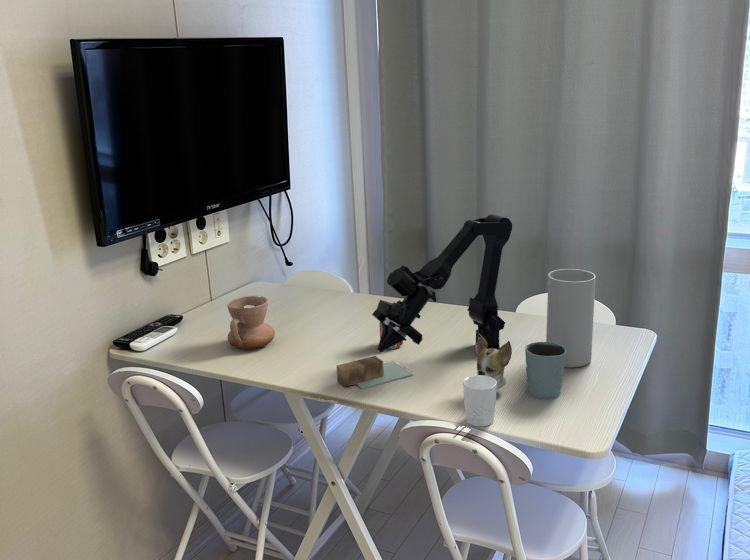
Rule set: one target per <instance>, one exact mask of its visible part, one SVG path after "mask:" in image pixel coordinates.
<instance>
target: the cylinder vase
mask: <svg viewBox="0 0 750 560" xmlns="http://www.w3.org/2000/svg"><path fill="white" fill-rule="evenodd" d="M547 276H548V277H547V302H546V303H547V304H546V305H547V308H546V309H547V311H546V335H545V336H546V338H545V339H546V340H545V342H551V343H556V344H559V345H561V346H563V347H565V349H566V357H565V364H564V368H570V369H574V368H581V367H585V366H586V365H589V363H591V362H592V357H593V355H592V351H593V334H594V333H593V332H594V314H595V295H596V294H595V293H596V274H594V272H591V271H588V270H583V269H577V268H564V269H563V268H562V269H555V270H553V271H549V273H548V274H547Z"/></svg>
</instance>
